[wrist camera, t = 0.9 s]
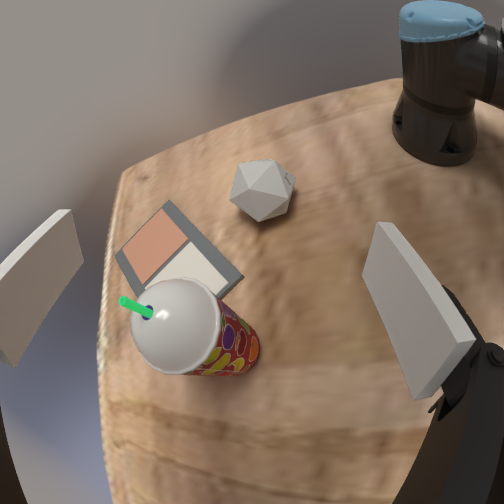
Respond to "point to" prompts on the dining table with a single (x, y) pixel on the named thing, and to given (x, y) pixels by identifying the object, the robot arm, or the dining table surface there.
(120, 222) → the dining table surface
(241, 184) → the die
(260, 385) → the dining table surface
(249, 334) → the smoothie
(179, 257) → the game board
